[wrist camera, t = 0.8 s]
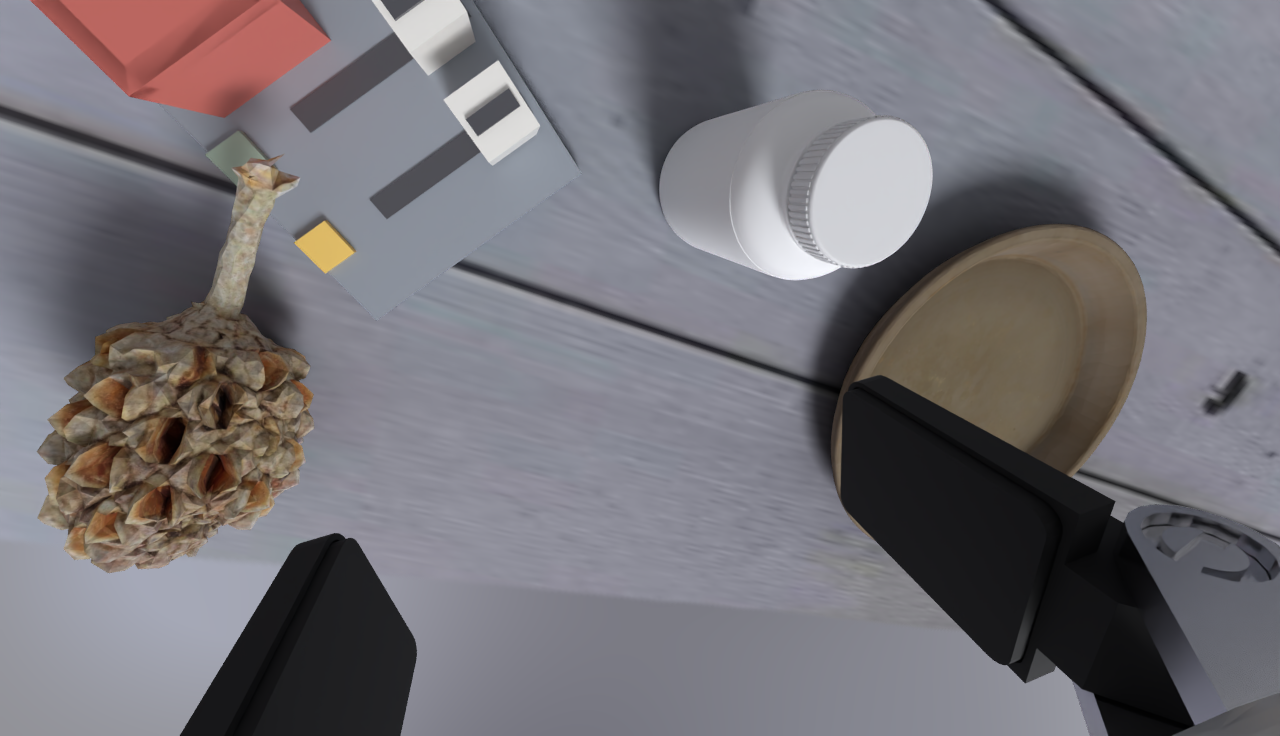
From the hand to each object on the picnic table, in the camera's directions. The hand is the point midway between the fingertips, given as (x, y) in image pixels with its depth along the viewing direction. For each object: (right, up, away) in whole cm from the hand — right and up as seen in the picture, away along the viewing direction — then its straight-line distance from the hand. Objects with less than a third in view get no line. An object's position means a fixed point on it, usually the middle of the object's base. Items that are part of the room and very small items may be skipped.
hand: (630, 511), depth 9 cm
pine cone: (-22, +5, +18) cm, 29 cm away
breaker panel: (-14, +17, +15) cm, 27 cm away
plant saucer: (+30, +1, +34) cm, 46 cm away
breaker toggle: (-8, +16, +16) cm, 24 cm away
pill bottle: (+5, +15, +21) cm, 27 cm away
